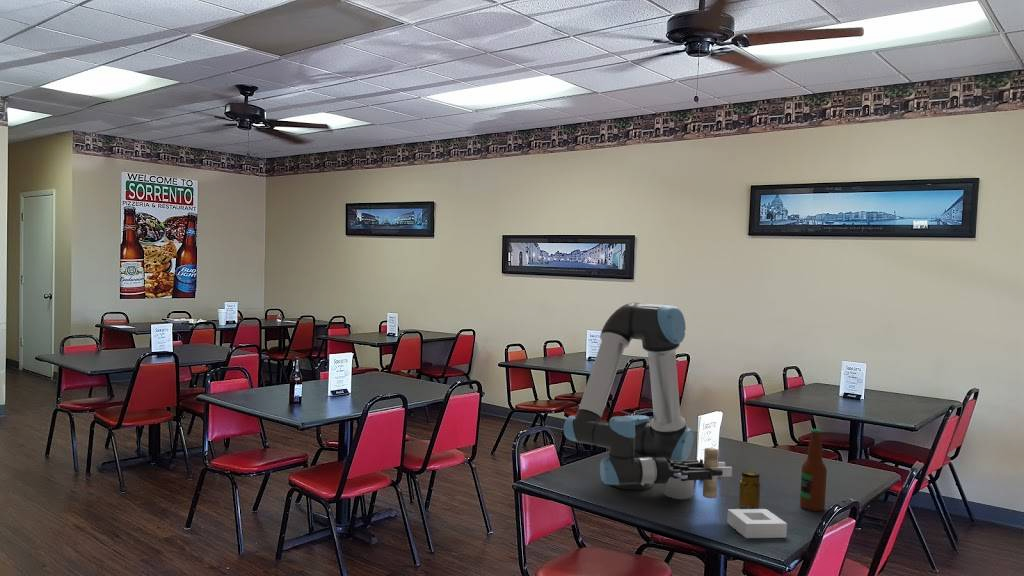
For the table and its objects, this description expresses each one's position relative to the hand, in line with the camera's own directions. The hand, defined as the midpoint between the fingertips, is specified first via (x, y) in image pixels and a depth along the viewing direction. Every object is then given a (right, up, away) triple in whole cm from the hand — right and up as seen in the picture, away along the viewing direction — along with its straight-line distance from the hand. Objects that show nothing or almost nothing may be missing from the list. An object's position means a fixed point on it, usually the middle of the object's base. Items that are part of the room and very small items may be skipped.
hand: (727, 469), depth 216 cm
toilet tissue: (-10, -14, +23) cm, 29 cm away
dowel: (-6, -8, 0) cm, 10 cm away
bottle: (+31, -16, +13) cm, 37 cm away
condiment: (+9, -15, +7) cm, 19 cm away
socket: (+6, -15, -9) cm, 18 cm away
